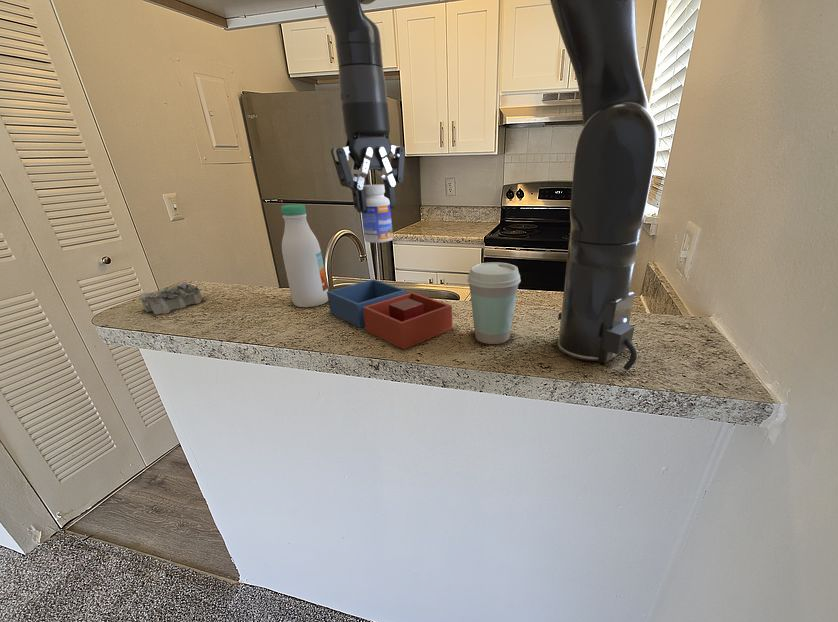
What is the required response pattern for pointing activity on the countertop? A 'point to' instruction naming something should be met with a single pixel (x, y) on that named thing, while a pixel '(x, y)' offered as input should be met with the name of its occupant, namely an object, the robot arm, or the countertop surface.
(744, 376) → the countertop surface
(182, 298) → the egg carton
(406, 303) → the red block
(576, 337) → the robot arm
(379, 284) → the blue bin
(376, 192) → the pill bottle
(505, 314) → the coffee cup
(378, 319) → the red bin
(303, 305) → the milk bottle
